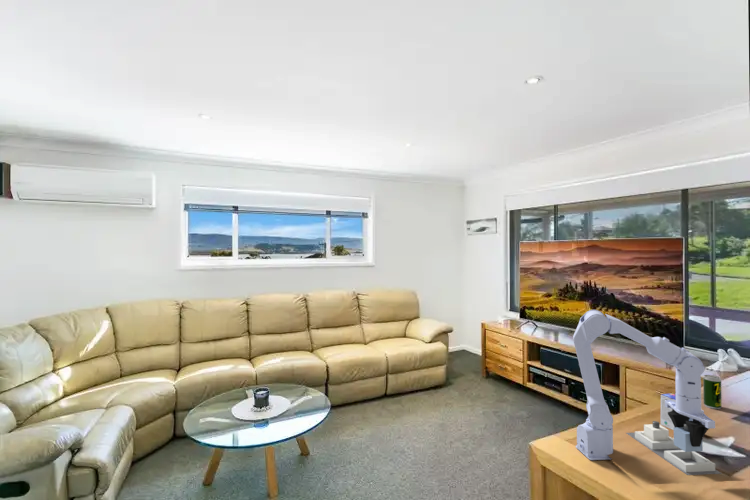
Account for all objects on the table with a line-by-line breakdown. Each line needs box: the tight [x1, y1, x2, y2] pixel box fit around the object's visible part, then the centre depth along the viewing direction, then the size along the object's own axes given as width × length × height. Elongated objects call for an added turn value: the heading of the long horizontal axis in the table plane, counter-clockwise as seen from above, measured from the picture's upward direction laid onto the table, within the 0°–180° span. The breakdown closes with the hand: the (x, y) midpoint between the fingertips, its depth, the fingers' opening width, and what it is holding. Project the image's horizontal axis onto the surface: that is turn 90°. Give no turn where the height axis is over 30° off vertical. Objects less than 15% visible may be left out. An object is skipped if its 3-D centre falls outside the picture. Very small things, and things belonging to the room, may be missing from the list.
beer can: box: [702, 374, 723, 410], centre depth 152 cm, size 5×5×12 cm
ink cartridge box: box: [660, 392, 693, 431], centre depth 130 cm, size 10×6×14 cm, turn 15°
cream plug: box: [643, 420, 670, 441], centre depth 121 cm, size 5×4×7 cm
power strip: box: [625, 430, 723, 476], centre depth 116 cm, size 10×24×4 cm, turn 3°
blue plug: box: [673, 423, 704, 452], centre depth 109 cm, size 5×4×7 cm
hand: (688, 441), depth 109 cm, fingers closed on blue plug, 4 cm apart
